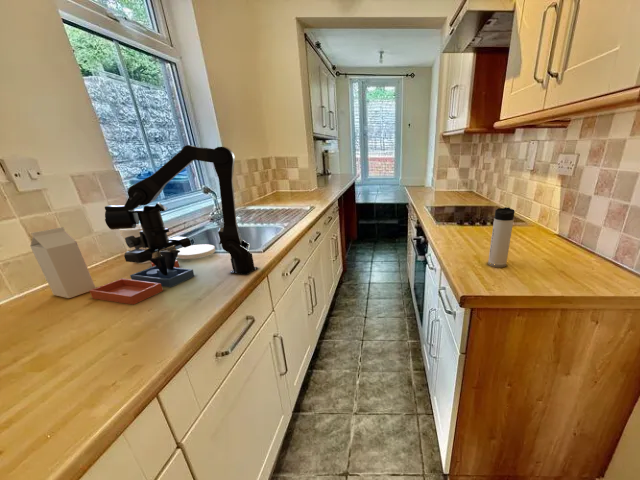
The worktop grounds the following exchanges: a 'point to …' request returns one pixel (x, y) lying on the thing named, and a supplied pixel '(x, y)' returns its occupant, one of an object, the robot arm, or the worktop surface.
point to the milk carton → (61, 262)
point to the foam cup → (135, 233)
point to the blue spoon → (157, 273)
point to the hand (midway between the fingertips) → (167, 274)
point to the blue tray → (166, 282)
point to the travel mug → (501, 237)
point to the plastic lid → (196, 251)
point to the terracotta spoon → (174, 264)
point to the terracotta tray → (126, 291)
